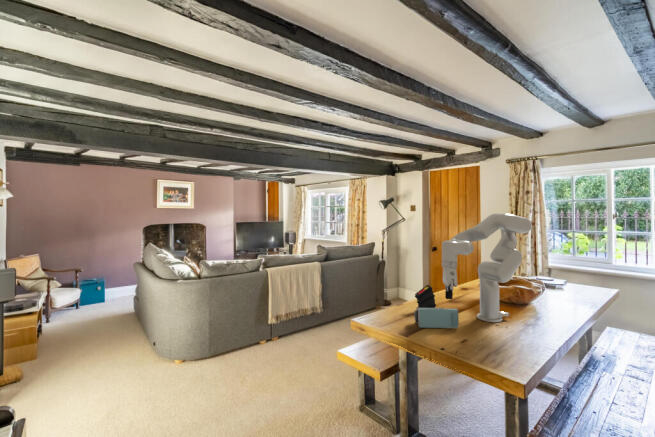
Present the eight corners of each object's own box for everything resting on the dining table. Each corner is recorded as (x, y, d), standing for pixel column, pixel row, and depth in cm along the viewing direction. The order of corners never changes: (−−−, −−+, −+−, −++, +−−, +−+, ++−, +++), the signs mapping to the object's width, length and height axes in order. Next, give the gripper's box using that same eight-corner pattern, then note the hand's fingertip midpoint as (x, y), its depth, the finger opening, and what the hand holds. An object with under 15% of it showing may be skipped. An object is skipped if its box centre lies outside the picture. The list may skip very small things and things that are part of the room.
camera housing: (443, 322, 164) (442, 307, 164) (447, 327, 157) (446, 312, 157) (414, 322, 165) (414, 307, 165) (416, 327, 158) (416, 312, 158)
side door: (457, 327, 156) (457, 308, 156) (458, 328, 154) (458, 310, 154) (418, 326, 158) (417, 308, 158) (419, 328, 156) (418, 309, 155)
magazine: (440, 306, 185) (431, 285, 182) (424, 318, 181) (415, 297, 178) (435, 304, 189) (427, 284, 186) (420, 316, 184) (411, 296, 181)
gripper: (461, 266, 152) (461, 303, 153) (452, 262, 167) (451, 295, 168) (446, 266, 153) (445, 302, 153) (438, 261, 168) (437, 294, 168)
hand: (448, 298), depth 160 cm, fingers closed
